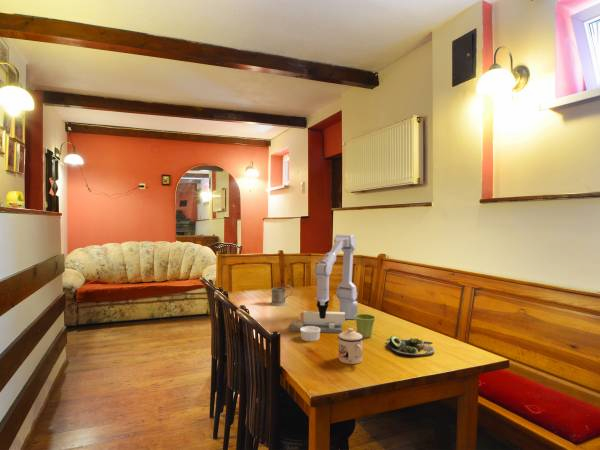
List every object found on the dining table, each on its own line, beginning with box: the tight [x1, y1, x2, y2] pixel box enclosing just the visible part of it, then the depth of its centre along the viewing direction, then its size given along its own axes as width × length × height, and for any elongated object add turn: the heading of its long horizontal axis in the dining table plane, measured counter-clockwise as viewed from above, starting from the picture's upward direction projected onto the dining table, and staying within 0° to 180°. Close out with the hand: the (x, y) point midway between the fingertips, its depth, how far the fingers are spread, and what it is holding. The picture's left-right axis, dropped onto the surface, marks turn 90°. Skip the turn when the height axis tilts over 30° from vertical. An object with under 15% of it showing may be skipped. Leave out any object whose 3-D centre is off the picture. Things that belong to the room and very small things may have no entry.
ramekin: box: [300, 326, 321, 342], centre depth 160 cm, size 9×9×4 cm
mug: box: [269, 284, 294, 307], centre depth 223 cm, size 14×10×12 cm
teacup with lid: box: [337, 327, 364, 365], centre depth 135 cm, size 12×9×12 cm
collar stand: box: [289, 317, 343, 334], centre depth 175 cm, size 24×12×4 cm, turn 85°
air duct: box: [299, 310, 346, 324], centre depth 175 cm, size 21×4×4 cm, turn 85°
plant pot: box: [354, 313, 377, 339], centre depth 164 cm, size 9×9×9 cm
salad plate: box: [385, 334, 436, 358], centre depth 148 cm, size 19×18×5 cm
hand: (322, 317), depth 175 cm, fingers closed on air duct, 4 cm apart
